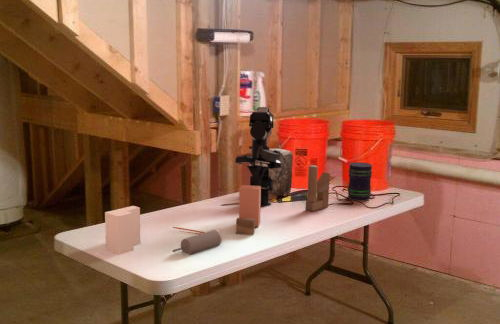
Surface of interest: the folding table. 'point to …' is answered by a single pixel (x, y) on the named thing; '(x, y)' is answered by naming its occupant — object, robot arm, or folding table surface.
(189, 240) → the motor
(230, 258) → the folding table surface
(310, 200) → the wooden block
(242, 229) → the rail
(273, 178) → the stone block
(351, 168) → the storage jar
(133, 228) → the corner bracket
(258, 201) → the block
